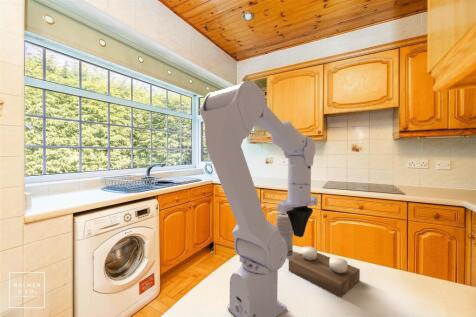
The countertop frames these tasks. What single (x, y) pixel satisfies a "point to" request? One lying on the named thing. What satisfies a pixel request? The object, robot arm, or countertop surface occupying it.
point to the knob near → (338, 265)
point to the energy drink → (285, 230)
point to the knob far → (309, 253)
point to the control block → (324, 274)
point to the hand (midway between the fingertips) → (298, 235)
